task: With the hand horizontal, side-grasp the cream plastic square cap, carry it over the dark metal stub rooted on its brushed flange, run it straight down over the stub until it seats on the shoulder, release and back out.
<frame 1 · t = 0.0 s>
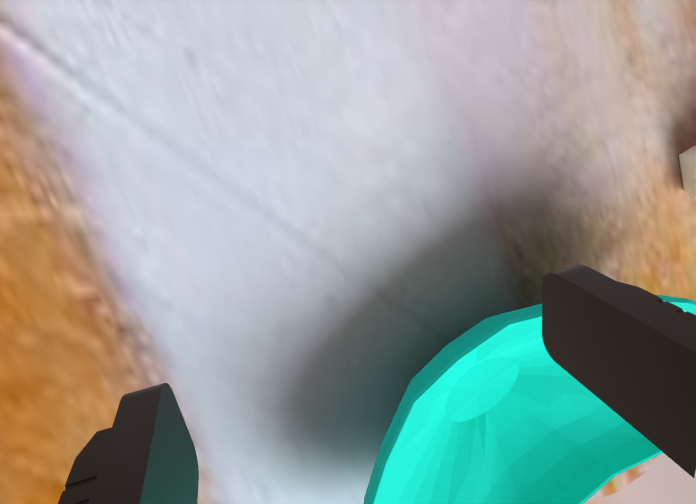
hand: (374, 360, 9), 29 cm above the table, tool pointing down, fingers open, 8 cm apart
table top decor: (477, 384, 51), on the table
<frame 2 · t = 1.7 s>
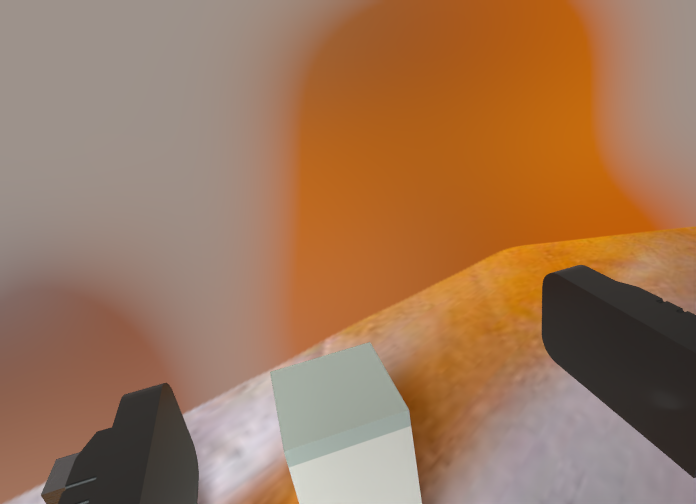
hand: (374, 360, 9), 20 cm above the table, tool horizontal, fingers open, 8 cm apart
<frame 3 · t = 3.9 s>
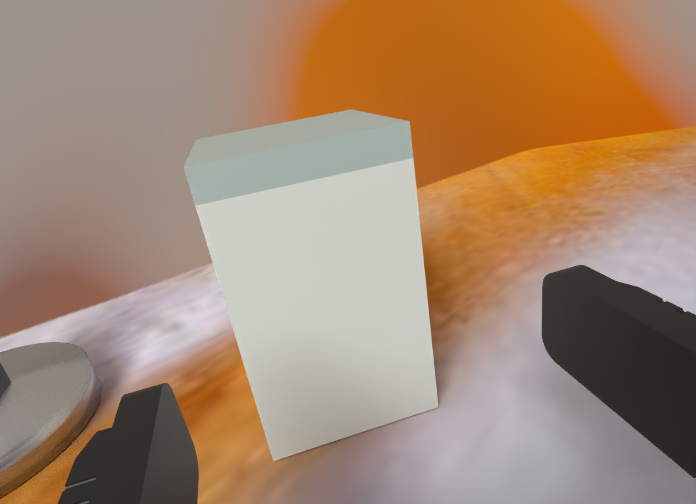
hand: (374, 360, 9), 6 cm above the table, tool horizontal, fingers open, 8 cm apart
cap: (338, 380, 18), on the table
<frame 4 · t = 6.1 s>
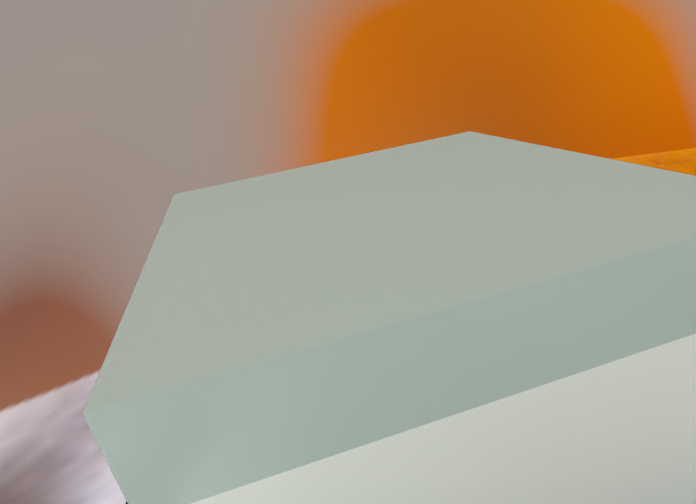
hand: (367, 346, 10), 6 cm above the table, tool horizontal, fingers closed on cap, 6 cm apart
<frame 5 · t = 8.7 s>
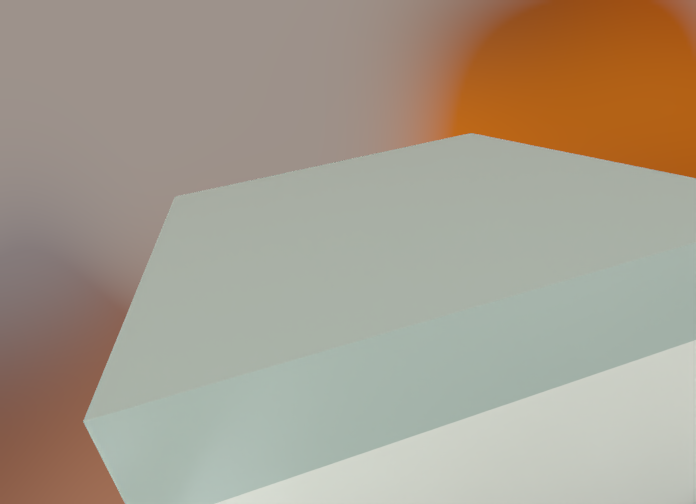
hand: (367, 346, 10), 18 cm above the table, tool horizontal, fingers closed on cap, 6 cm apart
when the fingers open (9 cm above the table, at t = 11.5 s): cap drops 1 cm, resting on stub.
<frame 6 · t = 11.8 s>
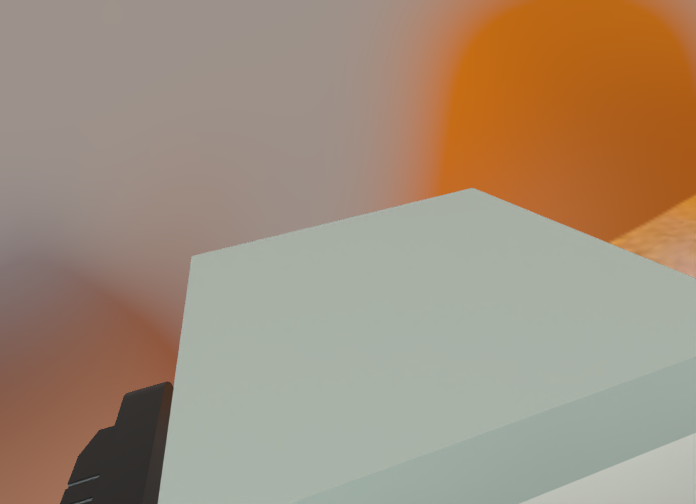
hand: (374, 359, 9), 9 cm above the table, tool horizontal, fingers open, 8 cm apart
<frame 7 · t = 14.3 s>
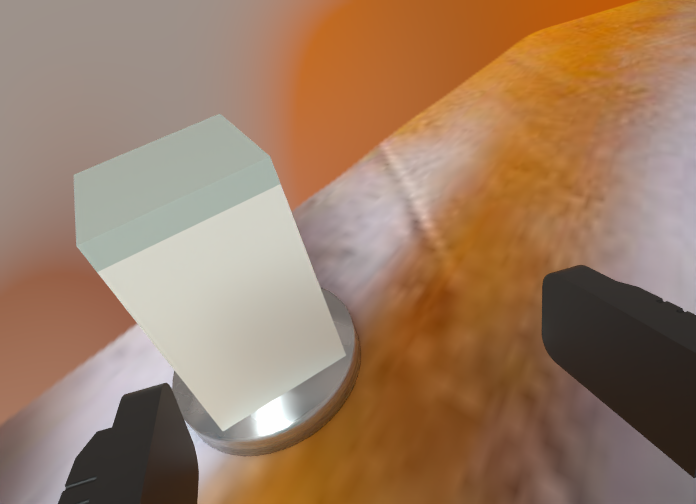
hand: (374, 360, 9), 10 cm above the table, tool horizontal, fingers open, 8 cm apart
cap: (263, 348, 21), point 1 cm above the table, touching stub
stub: (273, 367, 22), on the table
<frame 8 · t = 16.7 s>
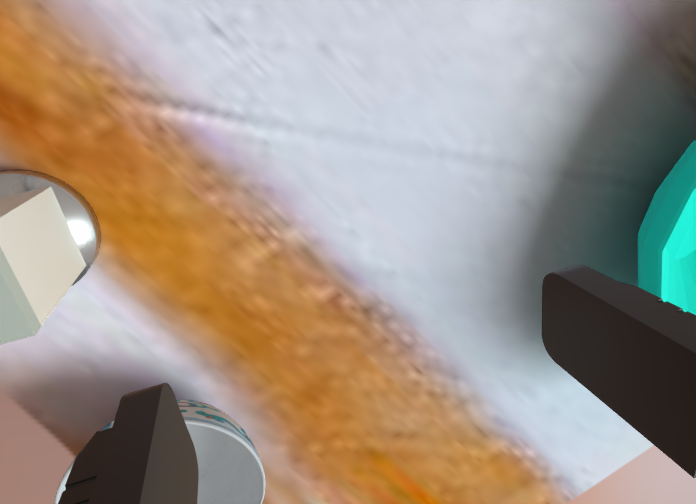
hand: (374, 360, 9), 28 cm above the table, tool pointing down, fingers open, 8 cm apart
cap: (23, 237, 31), point 1 cm above the table, touching stub
chinaware: (175, 429, 41), on the table
table top decor: (688, 214, 49), on the table
stub: (31, 232, 32), on the table
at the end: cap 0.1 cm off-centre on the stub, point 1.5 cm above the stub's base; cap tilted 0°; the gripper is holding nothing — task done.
